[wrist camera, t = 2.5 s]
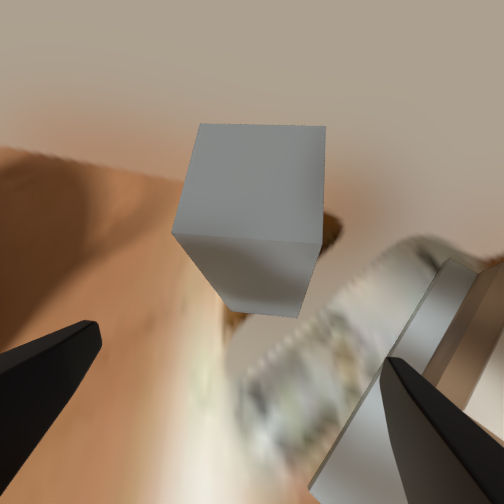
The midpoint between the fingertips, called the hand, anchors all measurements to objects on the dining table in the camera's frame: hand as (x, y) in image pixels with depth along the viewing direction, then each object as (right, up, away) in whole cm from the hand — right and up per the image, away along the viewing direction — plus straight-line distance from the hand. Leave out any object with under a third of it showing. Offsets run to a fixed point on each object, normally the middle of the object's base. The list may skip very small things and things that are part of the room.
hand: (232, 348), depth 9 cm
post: (+2, +1, +13) cm, 13 cm away
